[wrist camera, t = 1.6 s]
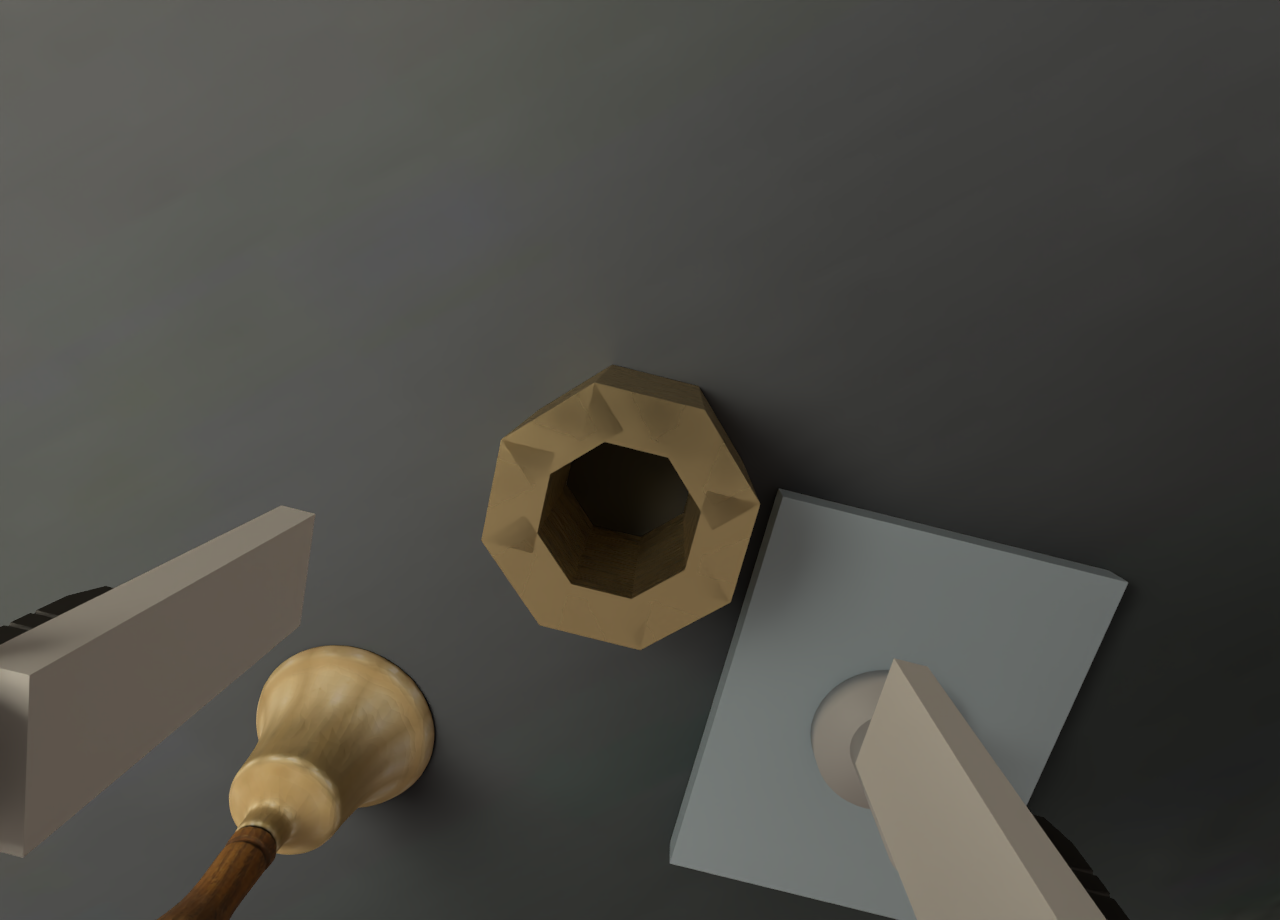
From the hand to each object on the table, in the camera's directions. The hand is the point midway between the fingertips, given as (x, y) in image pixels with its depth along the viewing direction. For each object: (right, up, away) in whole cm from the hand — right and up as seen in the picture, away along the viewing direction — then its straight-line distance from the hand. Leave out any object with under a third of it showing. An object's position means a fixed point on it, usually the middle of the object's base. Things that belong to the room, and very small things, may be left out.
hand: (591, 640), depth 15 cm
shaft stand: (+11, -7, +15) cm, 20 cm away
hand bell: (-13, -8, +16) cm, 22 cm away
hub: (+1, +3, +13) cm, 13 cm away
